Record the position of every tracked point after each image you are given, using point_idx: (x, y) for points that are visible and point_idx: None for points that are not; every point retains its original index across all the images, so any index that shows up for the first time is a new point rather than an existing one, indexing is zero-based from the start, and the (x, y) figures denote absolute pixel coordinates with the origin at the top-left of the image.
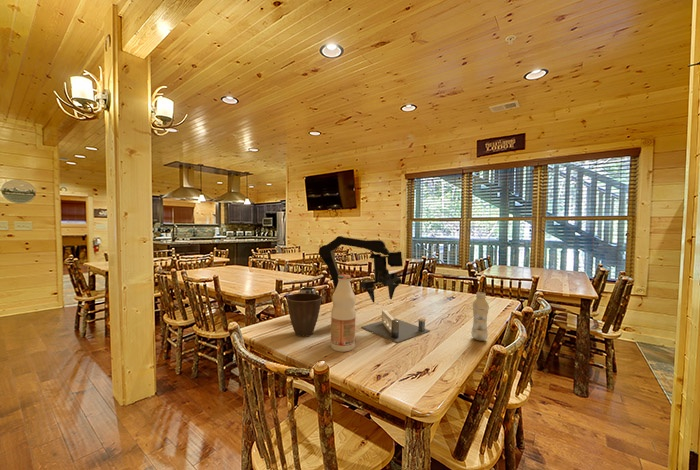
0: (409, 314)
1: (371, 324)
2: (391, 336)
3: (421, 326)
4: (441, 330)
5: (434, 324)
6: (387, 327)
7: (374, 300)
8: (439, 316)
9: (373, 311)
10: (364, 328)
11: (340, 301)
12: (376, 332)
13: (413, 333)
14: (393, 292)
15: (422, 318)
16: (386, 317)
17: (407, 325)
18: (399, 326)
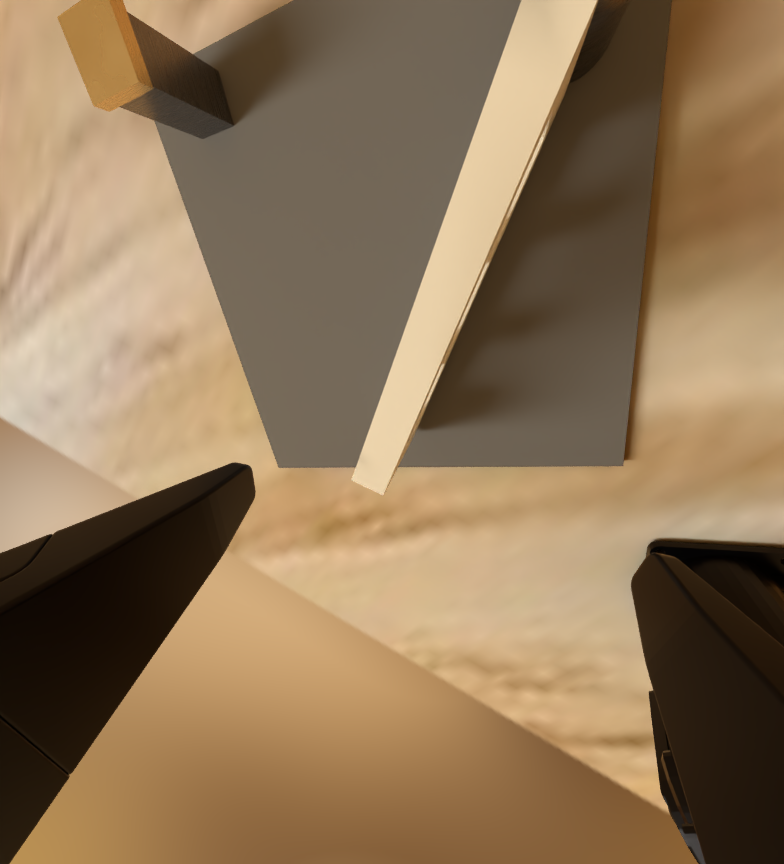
0: (160, 461)
1: (506, 455)
2: (607, 47)
3: (180, 57)
4: (54, 65)
5: (70, 228)
6: (483, 277)
7: (680, 585)
8: (9, 342)
9: (326, 601)
10: (625, 426)
11: None
12: (630, 274)
13: (313, 61)
14: (59, 535)
15: (85, 77)
16: (453, 336)
17: (261, 290)
18: (331, 304)
